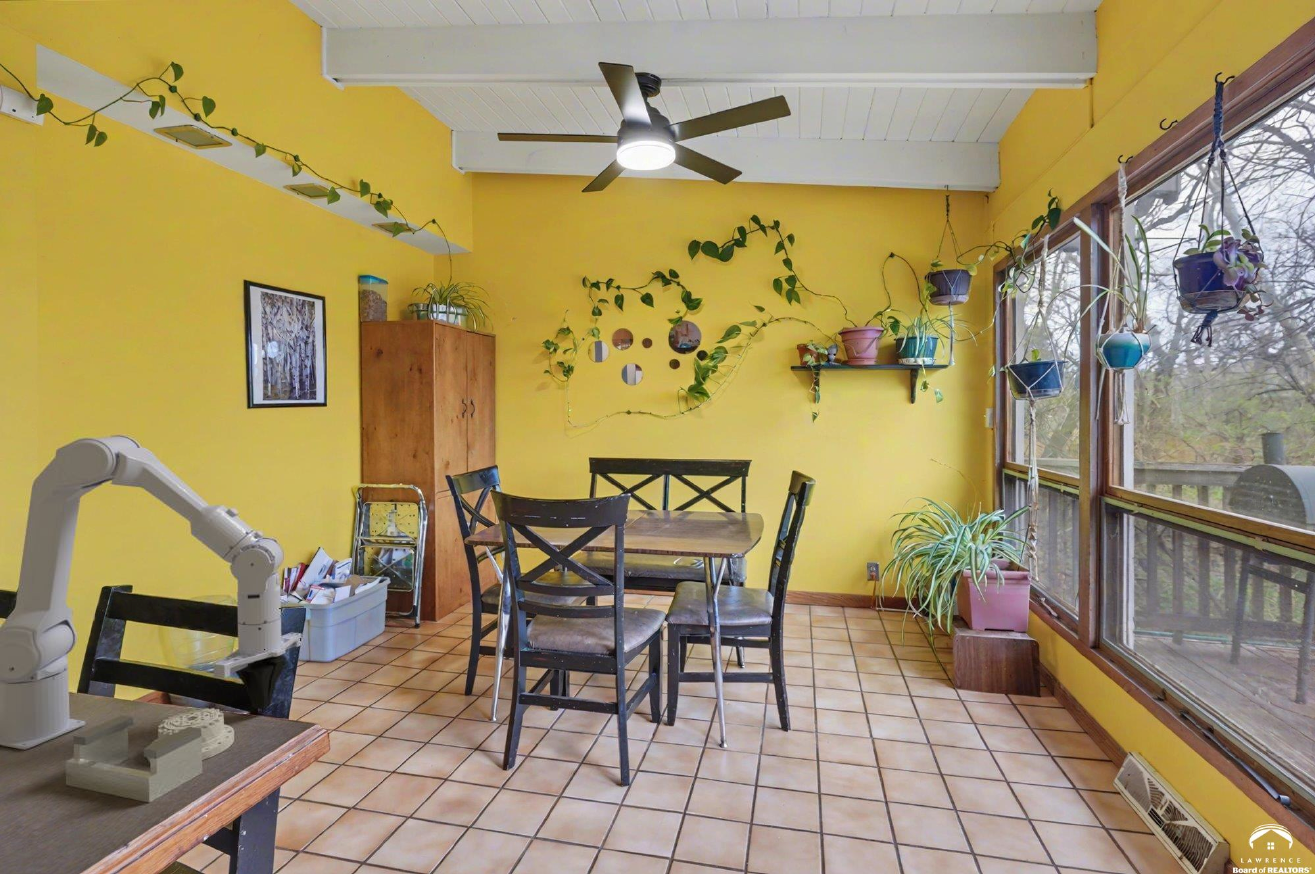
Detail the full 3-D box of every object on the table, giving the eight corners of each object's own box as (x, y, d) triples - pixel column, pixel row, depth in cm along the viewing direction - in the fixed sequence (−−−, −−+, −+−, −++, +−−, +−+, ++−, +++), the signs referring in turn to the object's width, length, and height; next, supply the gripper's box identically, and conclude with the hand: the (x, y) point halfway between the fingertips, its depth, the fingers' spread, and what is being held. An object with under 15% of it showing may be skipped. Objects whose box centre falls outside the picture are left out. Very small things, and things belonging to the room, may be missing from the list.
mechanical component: (127, 764, 92) (192, 772, 90) (127, 731, 92) (191, 739, 90) (191, 730, 102) (251, 736, 100) (191, 700, 102) (250, 706, 100)
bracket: (66, 785, 86) (64, 739, 86) (122, 757, 93) (121, 715, 93) (149, 802, 83) (148, 755, 83) (202, 772, 90) (201, 728, 89)
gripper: (240, 637, 98) (242, 731, 99) (316, 608, 112) (317, 691, 113) (201, 632, 100) (203, 725, 101) (280, 604, 114) (282, 686, 115)
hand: (261, 706), depth 107 cm, fingers closed
